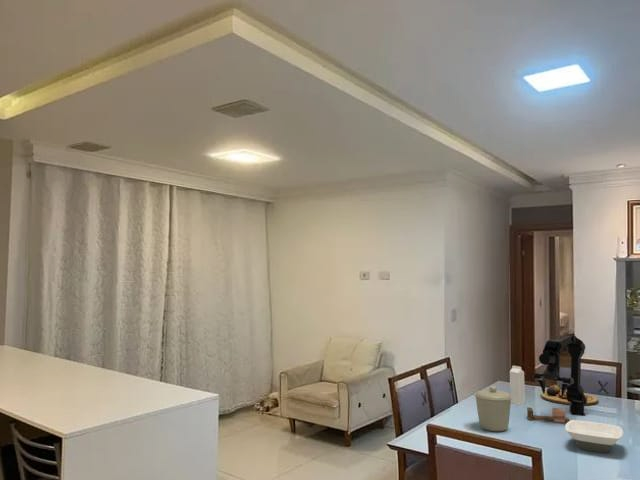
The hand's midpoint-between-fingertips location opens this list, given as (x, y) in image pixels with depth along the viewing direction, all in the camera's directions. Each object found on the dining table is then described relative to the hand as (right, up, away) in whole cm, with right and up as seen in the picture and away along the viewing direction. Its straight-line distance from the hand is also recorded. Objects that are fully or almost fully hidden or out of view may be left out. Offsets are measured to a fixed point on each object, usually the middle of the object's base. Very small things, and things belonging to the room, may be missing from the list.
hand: (552, 395), depth 264 cm
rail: (-1, -14, +4) cm, 15 cm away
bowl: (+1, -12, -39) cm, 40 cm away
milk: (-4, -17, +38) cm, 42 cm away
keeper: (+4, -14, +2) cm, 15 cm away
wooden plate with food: (+32, -18, +48) cm, 60 cm away
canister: (-35, -14, -11) cm, 39 cm away
